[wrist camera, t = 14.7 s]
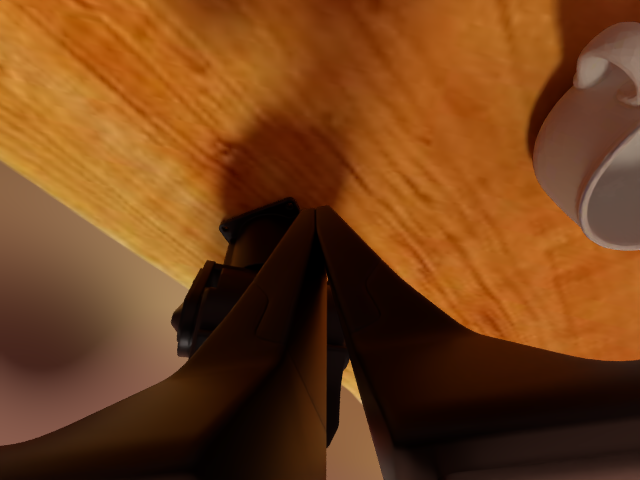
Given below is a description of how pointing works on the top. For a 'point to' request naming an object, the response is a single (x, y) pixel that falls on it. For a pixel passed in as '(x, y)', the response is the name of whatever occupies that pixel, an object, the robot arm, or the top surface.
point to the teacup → (598, 141)
